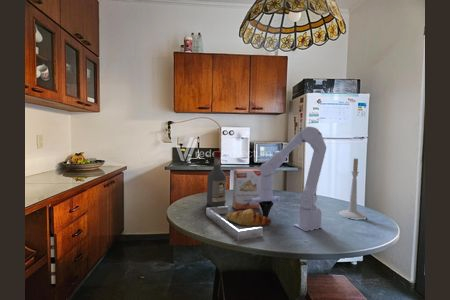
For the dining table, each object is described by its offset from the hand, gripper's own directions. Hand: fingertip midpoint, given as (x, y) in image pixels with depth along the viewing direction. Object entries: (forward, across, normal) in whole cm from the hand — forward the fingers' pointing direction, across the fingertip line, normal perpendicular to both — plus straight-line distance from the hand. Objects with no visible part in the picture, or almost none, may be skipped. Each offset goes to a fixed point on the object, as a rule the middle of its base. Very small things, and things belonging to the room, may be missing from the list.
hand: (265, 216), depth 125 cm
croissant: (+2, +10, 0) cm, 10 cm away
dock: (+1, +18, 0) cm, 19 cm away
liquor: (+2, +12, -32) cm, 34 cm away
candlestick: (+2, -46, +11) cm, 47 cm away
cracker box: (+2, -2, -21) cm, 21 cm away
